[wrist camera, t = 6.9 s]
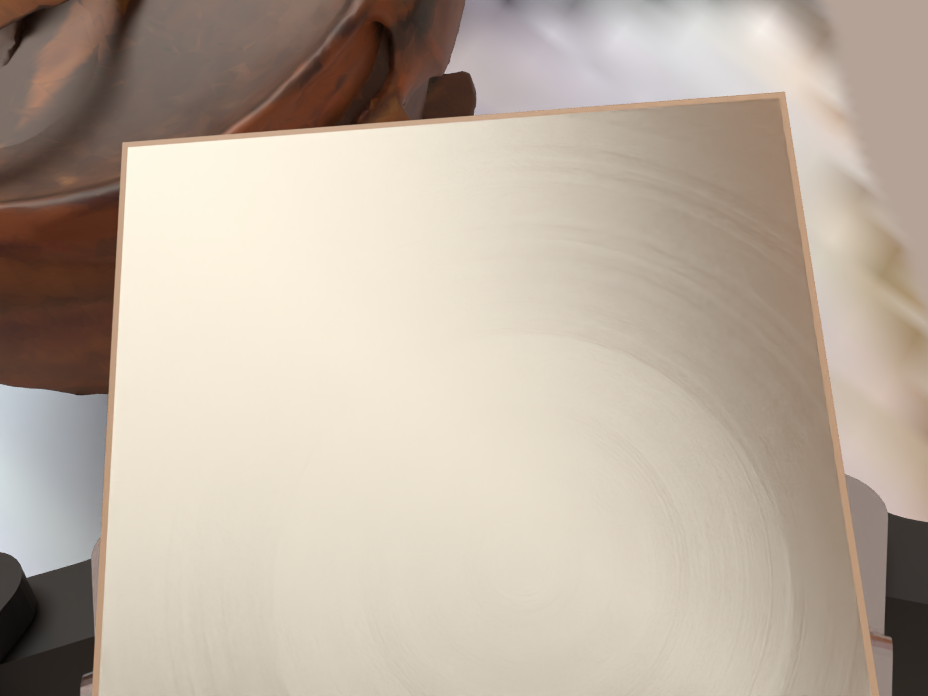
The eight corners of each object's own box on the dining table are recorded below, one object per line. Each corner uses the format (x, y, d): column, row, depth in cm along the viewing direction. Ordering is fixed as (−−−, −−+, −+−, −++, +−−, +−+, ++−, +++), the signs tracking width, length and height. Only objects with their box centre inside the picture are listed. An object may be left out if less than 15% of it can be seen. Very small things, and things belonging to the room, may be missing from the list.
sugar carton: (647, 657, 17) (903, 844, 6) (372, 669, 18) (82, 870, 6) (621, 385, 19) (785, 91, 7) (366, 400, 19) (122, 141, 7)
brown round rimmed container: (115, 568, 28) (-539, 548, 11) (-65, 91, 33) (-702, -440, 16) (597, 320, 29) (710, -58, 12) (350, -103, 34) (178, -795, 17)
